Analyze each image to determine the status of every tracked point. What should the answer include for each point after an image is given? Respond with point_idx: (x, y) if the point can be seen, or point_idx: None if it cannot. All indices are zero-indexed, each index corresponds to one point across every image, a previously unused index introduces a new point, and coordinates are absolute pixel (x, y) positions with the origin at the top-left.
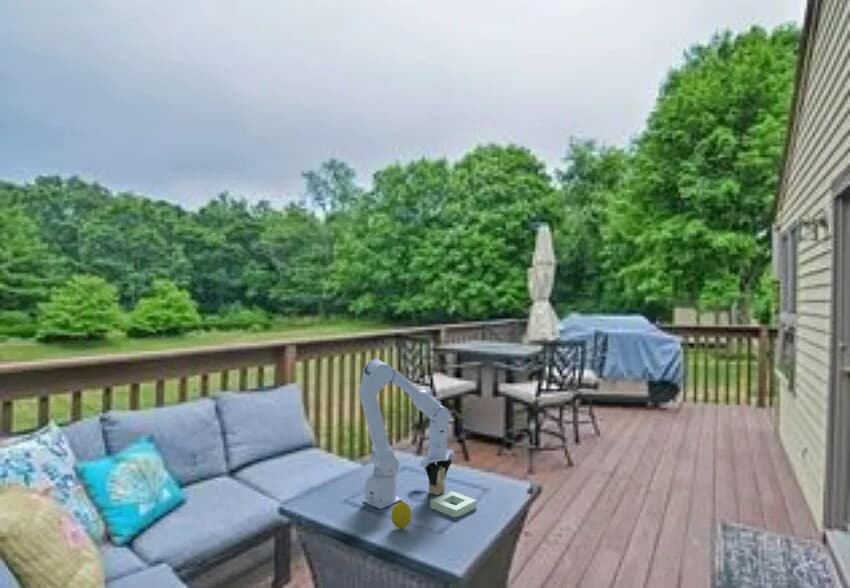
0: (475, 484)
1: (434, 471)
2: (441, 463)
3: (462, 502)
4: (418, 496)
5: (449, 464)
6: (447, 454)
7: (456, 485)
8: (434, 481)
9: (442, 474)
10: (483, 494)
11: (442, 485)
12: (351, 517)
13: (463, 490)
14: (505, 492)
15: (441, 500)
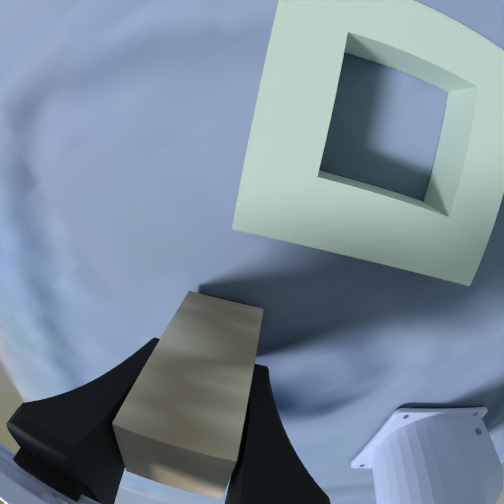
0: (9, 190)
1: (312, 478)
2: (105, 469)
3: (406, 43)
4: (322, 379)
5: (52, 414)
6: (9, 490)
7: (68, 269)
8: (272, 393)
9: (172, 394)
10: (71, 74)
11: (198, 326)
12: None
13: (88, 203)
14: (17, 23)
15: (454, 216)
